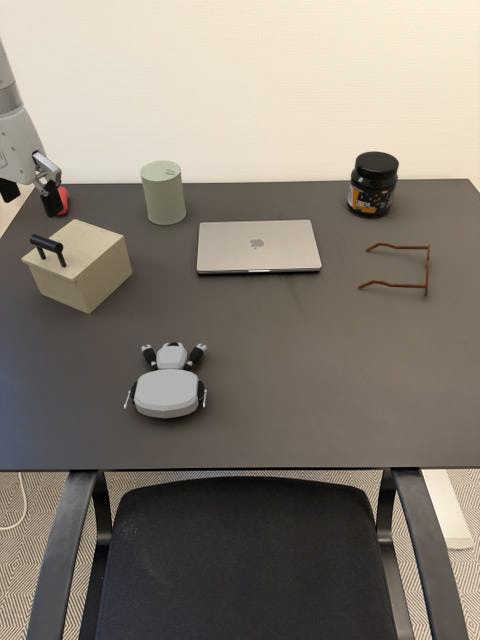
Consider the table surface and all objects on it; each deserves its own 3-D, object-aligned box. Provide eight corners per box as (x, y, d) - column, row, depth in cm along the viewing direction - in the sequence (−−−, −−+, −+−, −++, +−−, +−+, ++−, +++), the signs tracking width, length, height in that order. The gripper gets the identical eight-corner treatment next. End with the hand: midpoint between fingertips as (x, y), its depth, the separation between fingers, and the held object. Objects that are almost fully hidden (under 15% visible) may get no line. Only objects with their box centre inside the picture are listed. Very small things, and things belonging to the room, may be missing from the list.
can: (175, 228, 109) (168, 182, 100) (140, 220, 111) (131, 174, 102) (192, 208, 114) (187, 162, 106) (159, 200, 117) (152, 155, 108)
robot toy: (142, 355, 83) (127, 426, 72) (137, 337, 80) (121, 408, 69) (210, 354, 83) (206, 425, 72) (209, 336, 80) (204, 406, 69)
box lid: (73, 282, 83) (63, 255, 79) (22, 262, 87) (10, 235, 83) (124, 238, 92) (118, 212, 87) (75, 222, 96) (67, 196, 91)
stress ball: (43, 220, 114) (43, 206, 109) (48, 190, 118) (48, 174, 112) (66, 224, 116) (66, 210, 111) (70, 194, 119) (71, 179, 114)
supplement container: (337, 209, 113) (344, 162, 104) (360, 191, 118) (368, 145, 110) (376, 225, 108) (387, 177, 99) (398, 205, 113) (410, 159, 105)
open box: (89, 314, 90) (76, 280, 83) (41, 294, 94) (25, 259, 88) (132, 273, 98) (124, 239, 92) (86, 256, 102) (75, 222, 96)
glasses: (426, 301, 90) (433, 282, 87) (357, 289, 93) (362, 270, 90) (428, 260, 99) (434, 241, 95) (365, 249, 102) (369, 230, 98)
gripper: (-73, 98, 65) (-21, 204, 78) (15, 120, 59) (57, 231, 72) (-29, 80, 70) (14, 183, 82) (57, 98, 64) (89, 207, 76)
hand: (34, 206), depth 77 cm, fingers open, 9 cm apart
